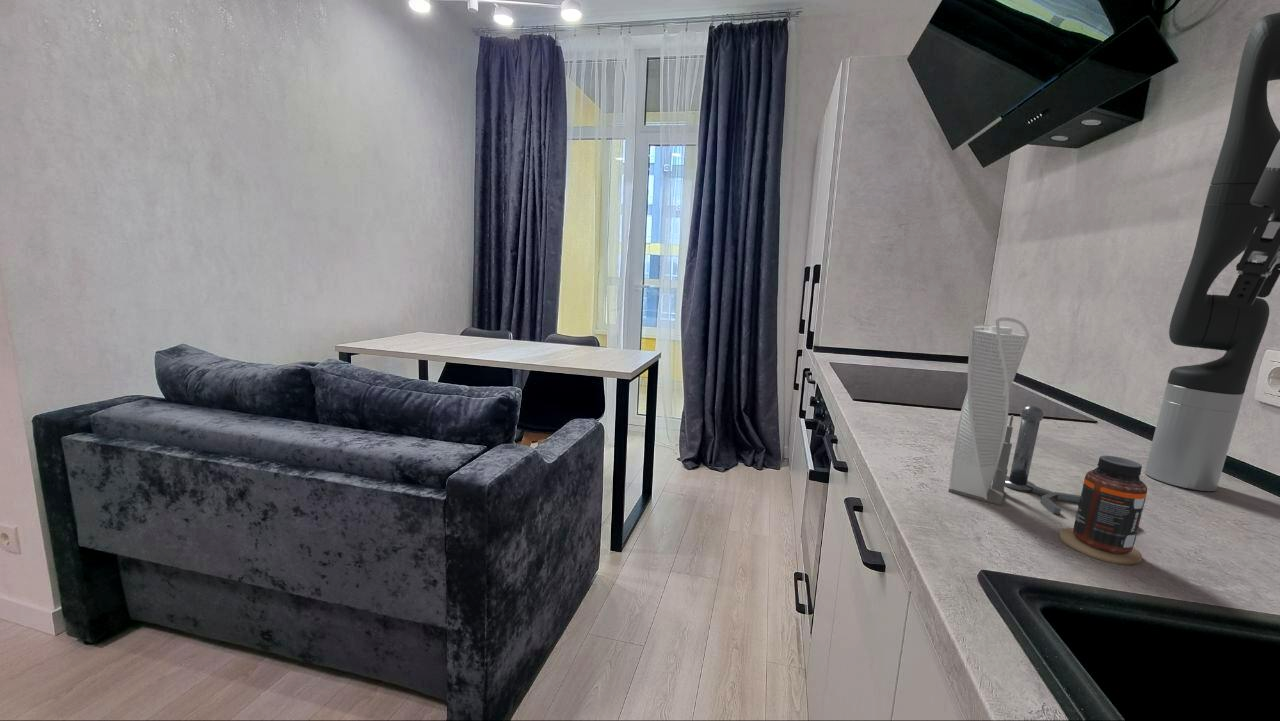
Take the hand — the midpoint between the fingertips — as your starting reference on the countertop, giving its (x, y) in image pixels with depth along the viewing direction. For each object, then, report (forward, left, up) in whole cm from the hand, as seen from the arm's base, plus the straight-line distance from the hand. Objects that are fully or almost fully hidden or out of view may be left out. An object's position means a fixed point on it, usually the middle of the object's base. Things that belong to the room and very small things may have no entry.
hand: (1246, 300), depth 67 cm
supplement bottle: (+17, -4, -32) cm, 36 cm away
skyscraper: (+14, -21, -33) cm, 41 cm away
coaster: (+17, -4, -33) cm, 37 cm away
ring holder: (+6, -13, -33) cm, 35 cm away
